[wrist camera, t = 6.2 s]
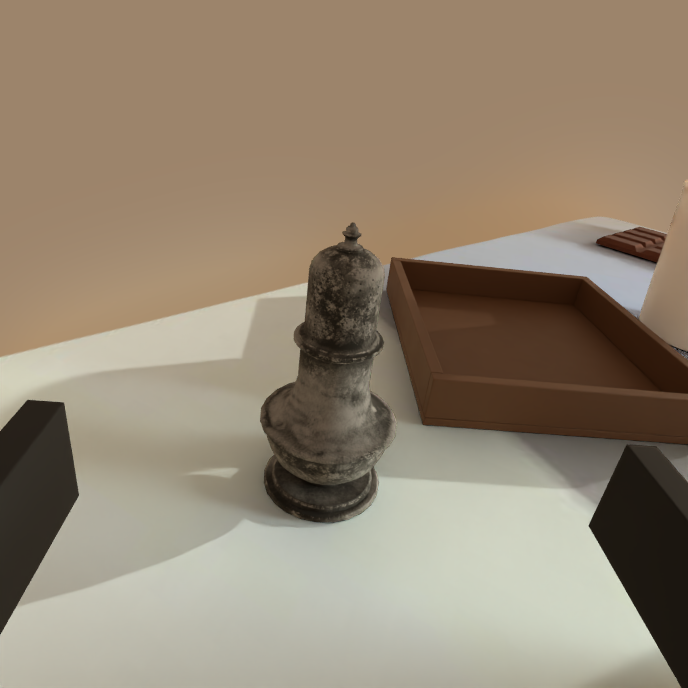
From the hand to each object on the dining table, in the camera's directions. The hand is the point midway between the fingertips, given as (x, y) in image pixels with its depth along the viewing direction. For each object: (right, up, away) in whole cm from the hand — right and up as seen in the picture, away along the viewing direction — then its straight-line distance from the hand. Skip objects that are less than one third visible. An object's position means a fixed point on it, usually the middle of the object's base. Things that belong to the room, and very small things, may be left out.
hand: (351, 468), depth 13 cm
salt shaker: (-1, -3, +12) cm, 12 cm away
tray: (+13, +2, +25) cm, 28 cm away
